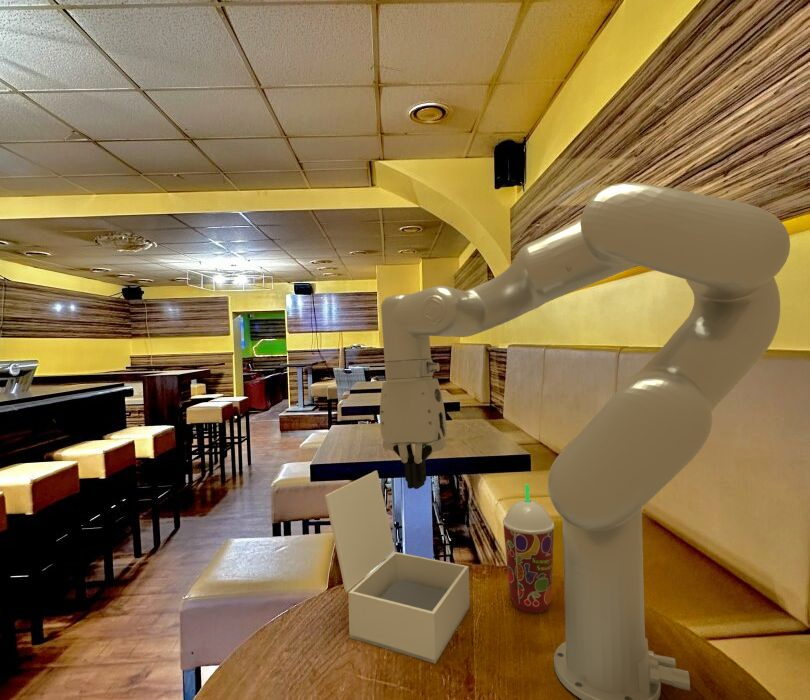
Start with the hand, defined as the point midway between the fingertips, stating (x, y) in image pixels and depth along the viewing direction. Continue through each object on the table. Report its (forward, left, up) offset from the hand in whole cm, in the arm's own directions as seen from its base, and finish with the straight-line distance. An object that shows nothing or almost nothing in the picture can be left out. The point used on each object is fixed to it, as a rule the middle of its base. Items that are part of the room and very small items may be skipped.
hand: (416, 486), depth 72 cm
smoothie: (-15, -12, -22) cm, 29 cm away
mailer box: (+1, +1, -21) cm, 21 cm away
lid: (+10, +1, -7) cm, 12 cm away
